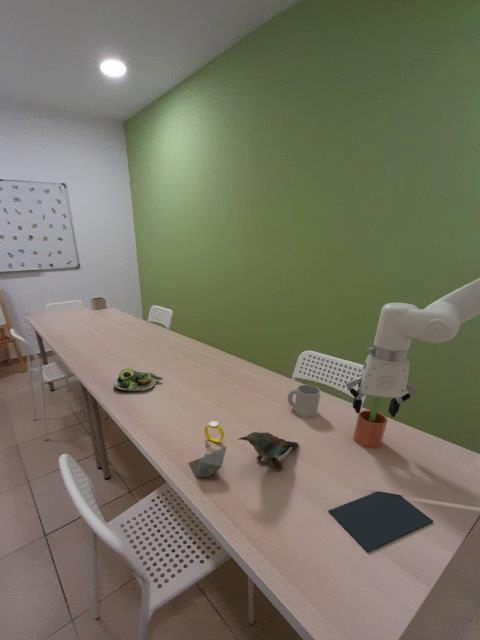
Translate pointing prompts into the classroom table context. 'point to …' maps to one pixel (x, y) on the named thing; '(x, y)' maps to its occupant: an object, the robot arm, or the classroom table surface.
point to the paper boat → (208, 463)
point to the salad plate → (135, 381)
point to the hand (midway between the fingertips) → (373, 412)
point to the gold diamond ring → (214, 425)
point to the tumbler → (369, 430)
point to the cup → (305, 400)
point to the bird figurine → (269, 446)
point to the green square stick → (374, 409)
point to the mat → (379, 519)
